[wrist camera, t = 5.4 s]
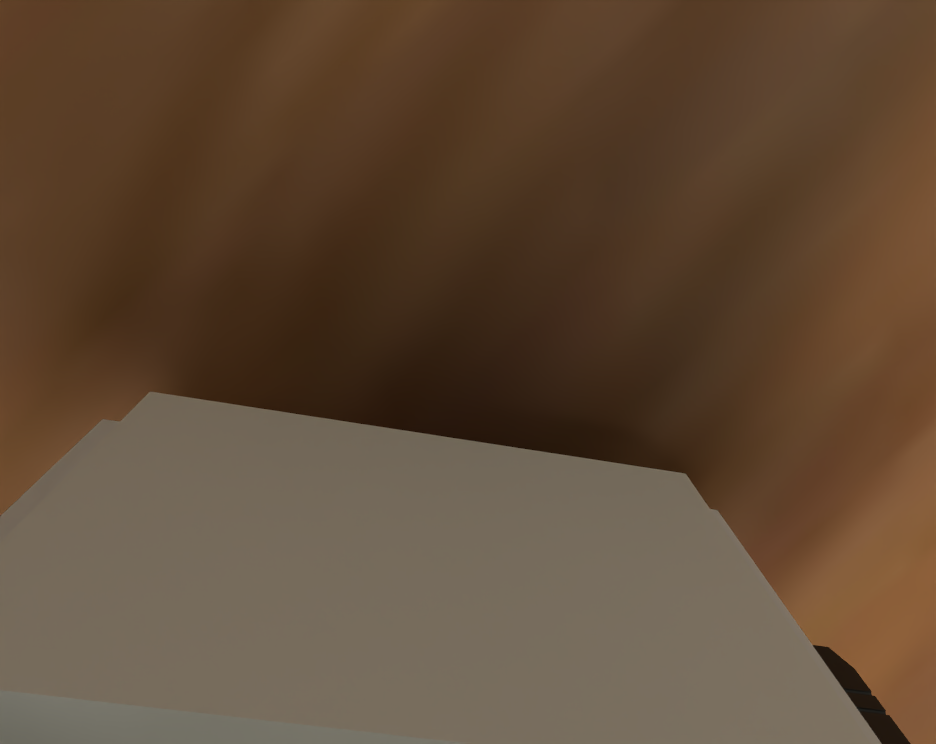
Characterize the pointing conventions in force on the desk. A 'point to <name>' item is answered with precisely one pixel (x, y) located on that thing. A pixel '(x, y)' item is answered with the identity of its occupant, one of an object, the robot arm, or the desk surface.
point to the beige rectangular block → (385, 597)
